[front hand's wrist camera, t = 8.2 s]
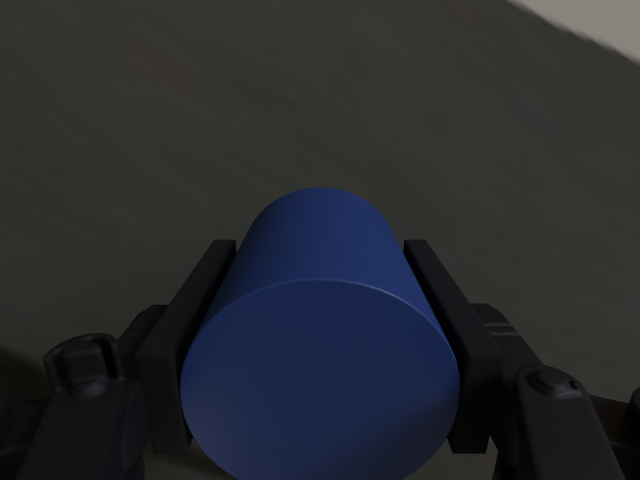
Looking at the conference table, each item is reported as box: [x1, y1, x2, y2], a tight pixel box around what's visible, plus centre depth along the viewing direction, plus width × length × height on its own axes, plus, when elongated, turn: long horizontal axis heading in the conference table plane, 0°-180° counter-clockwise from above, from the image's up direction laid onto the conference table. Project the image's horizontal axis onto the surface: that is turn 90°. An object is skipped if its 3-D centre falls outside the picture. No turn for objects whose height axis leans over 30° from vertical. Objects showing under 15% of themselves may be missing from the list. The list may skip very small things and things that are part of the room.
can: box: [179, 188, 461, 480], centre depth 12 cm, size 6×6×7 cm
